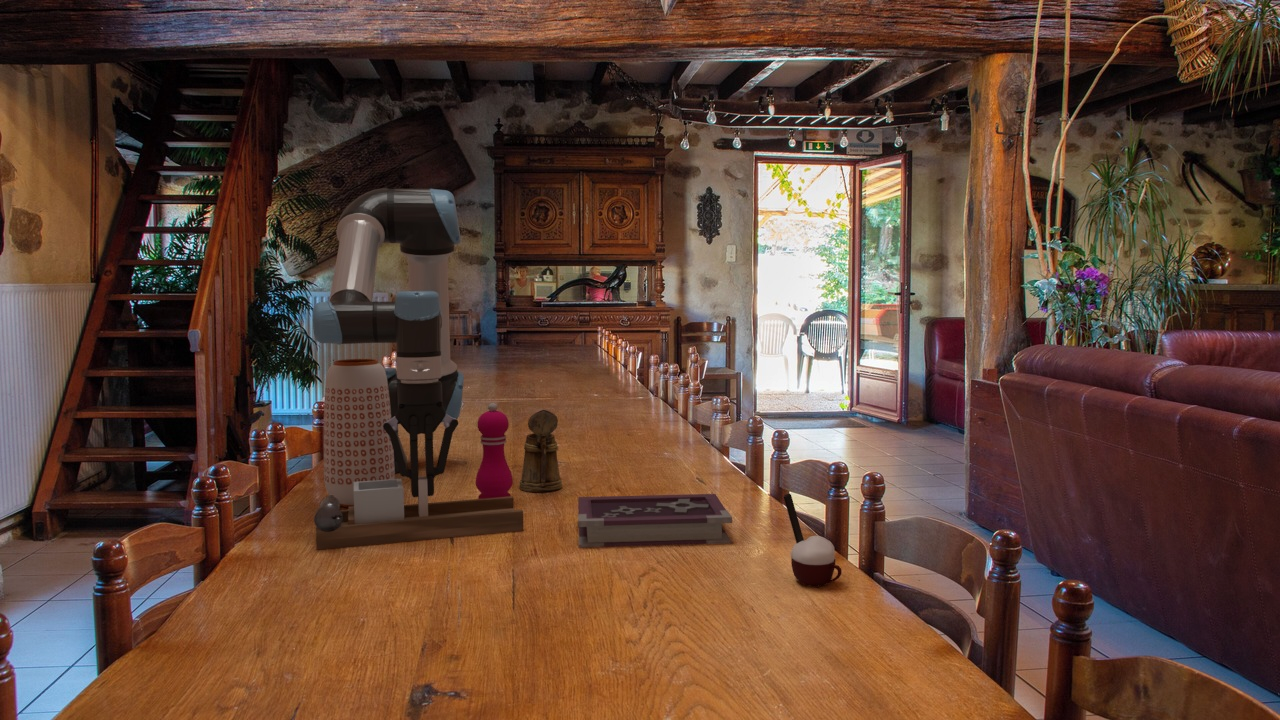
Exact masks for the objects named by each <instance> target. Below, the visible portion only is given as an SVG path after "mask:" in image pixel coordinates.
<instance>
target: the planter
mask: <svg viewBox="0 0 1280 720" xmlns="http://www.w3.org/2000/svg"><path fill="white" fill-rule="evenodd" d="M384 368H385V367H384V366H383V365H382V364H381V363H380V362H379V361H378V359H373V358H347V359H337V360H334V361H333V363H332V364H331V365H330V366H329V368H328V370H327V372H326V375H325V384H324V385H325V387H324V399H323V482H324V483H323V484H324V486H325V490H326V492H327V495H334V497H335V498H337V499H338V500H339V503H340V507H342V508H343V507H344V508H349V507H351V506H354V482H359V481H373V480H387V479H396V478H395V476H396V473H395V466H394V450H393V446H392V443H391V440H390V436H389V435H388V434H387V432H386V431H385V430H384V428H383V422H385V421H389V420H390V419H391V408H390V398H389V390H388V383H387V376H386V372H385V369H384Z"/></svg>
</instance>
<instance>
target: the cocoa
mask: <svg viewBox="0 0 1280 720" xmlns="http://www.w3.org/2000/svg"><path fill="white" fill-rule="evenodd" d="M783 500H784V503H785V507H786V510H787V514H788V518H789V521H790V525H791V528H792V533H793V536H794V539H795V542H796V543H795V544H794V545H793V547H792V548H791V551H790V558H791V569H792V573H793V576H794V578H795V579H796V580H797V581H798V582H799V583H800V584H802V585H804V586H806V587H807V586H808V587H811V588H812V587H816V588H818V587H823V586H825V585H827V584H831V583H833V582H834V583H835V581H837V580H838V579H839V578H840V577H841V576H842V572H843V571H842V568H841V566H839V565H836V555H835V546H834V544H833V543H832V542H831V541H830V540H829V539H827V538H825V537H823V536H820V535H811V536H809V537H808V538H806V539H804V537H803V531H802V528H801V526H800V522H799V519H798V515H797V510H796V507H795V504H794V501H793V497H792V494H791V493H786V494H784V495H783ZM835 569H836V570H837V575H836V576H835V577H833V575H834V572H835Z"/></svg>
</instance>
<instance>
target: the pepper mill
mask: <svg viewBox="0 0 1280 720" xmlns="http://www.w3.org/2000/svg"><path fill="white" fill-rule="evenodd" d="M487 409H488V411H484V412H483V413H482V414H481V415H480V416H479V418H478V419H477V430H478V432H480V434H481V436H480V442H479V443H480V444H481V445H482V451H483V452H482V459H481V463H480V465H479V468H478V470H477V473H476V477H475V487H476V489H477V490H478V491H479V492H480V494H479V495H478V498H477V499H485V498H497V497H509V496H511V494H510V493H509V491H510V490H511V488H512V487H513V483H514V480H513V475H512V474H513V473H512V471H511V468H510V467H509V465H508V462H507V460H506V456H505V444H506V443H507V439H506V438H507V435H505V434H506V432H507V431H508V429H509V425H510V423H509V419H508V417H507V415H506V414H505V413H504V412H501V411H499V410H498V404H497V403H494V402H491V403H489V405H488V407H487Z"/></svg>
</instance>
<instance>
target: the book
mask: <svg viewBox="0 0 1280 720" xmlns="http://www.w3.org/2000/svg"><path fill="white" fill-rule="evenodd" d="M577 498H578V499H577V500H578V501H577V502H578V507H577V508H578V510H577V511H578V515H577V518H578V521H577V524H578V548H603V547H604V548H605V547H611V548H612V547H637V546H638V547H640V546H643V547H644V546H674V545H675V546H679V545H716V544H717V545H718V544H732V539H731V537H730V536H729V535H728V533H727V531H726V530H725V528H724V527H723V524H732V523H733V516H732V515H731V513H730V512H729V511H728V510H727V509H726V508H725V506H724V504H723V503H722V502H721V499H720V498H719V497H718V496H717V494H716V493H701V494H700V493H699V494H698V493H696V494H694V493H693V494H689V493H688V494H655V495H654V494H653V495H647V494H645V495H616V496H615V495H611V496H578V497H577Z"/></svg>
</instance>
